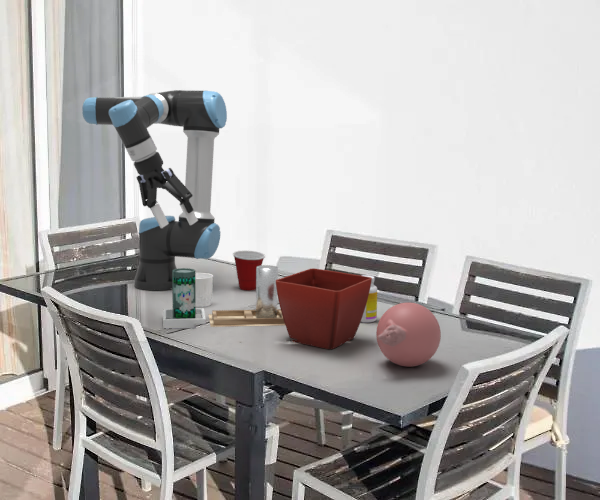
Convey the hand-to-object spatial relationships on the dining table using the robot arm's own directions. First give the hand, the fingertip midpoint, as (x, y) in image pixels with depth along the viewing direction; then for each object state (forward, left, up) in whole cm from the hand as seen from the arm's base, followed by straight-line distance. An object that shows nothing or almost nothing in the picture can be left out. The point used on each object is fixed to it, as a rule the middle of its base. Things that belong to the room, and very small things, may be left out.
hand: (179, 224), depth 231 cm
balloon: (+48, +52, -27) cm, 76 cm away
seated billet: (+7, +24, -26) cm, 36 cm away
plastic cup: (-35, +23, -27) cm, 50 cm away
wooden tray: (+7, +19, -27) cm, 34 cm away
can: (+5, +1, -27) cm, 28 cm away
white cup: (-11, +6, -27) cm, 30 cm away
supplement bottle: (+6, +53, -27) cm, 60 cm away
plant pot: (+25, +37, -27) cm, 52 cm away
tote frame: (+5, +1, -27) cm, 28 cm away
